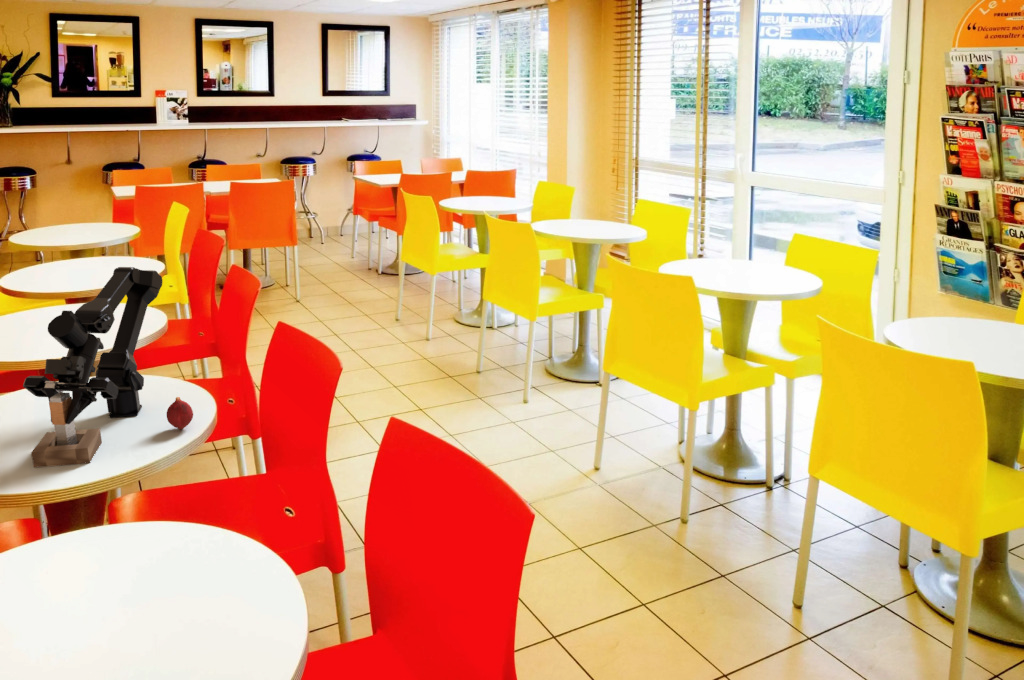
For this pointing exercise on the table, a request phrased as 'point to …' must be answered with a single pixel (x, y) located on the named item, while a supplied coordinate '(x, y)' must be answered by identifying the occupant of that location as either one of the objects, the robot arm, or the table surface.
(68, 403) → the banded grey brick
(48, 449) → the block
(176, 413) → the onion
